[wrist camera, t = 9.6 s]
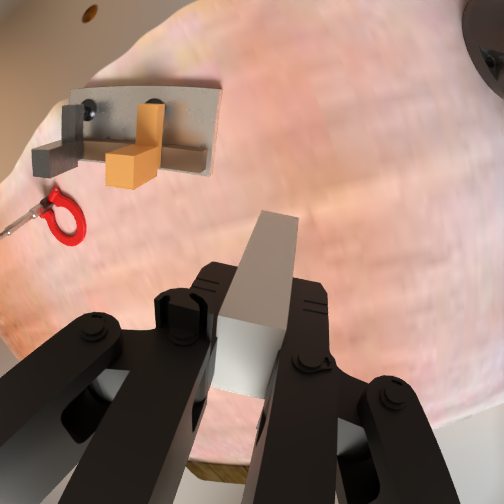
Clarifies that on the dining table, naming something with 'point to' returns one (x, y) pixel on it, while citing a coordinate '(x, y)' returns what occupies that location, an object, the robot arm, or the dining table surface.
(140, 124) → the orange toy chair
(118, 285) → the dining table surface
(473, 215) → the dining table surface
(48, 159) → the fixed leg
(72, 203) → the tow hook
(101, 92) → the bolt plate
